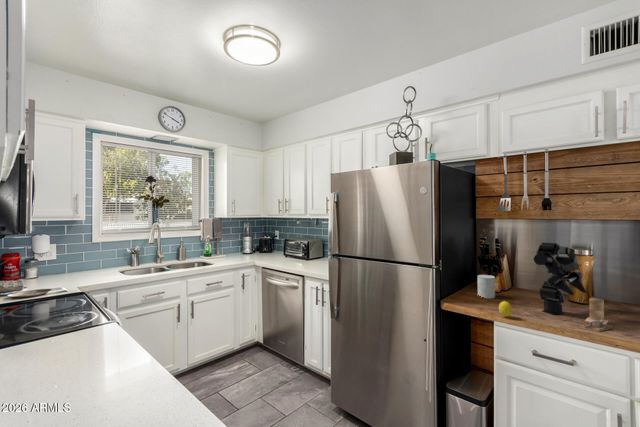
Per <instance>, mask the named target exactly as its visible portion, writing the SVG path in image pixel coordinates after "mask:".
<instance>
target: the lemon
mask: <svg viewBox="0 0 640 427" xmlns="http://www.w3.org/2000/svg"><path fill="white" fill-rule="evenodd" d="M498 311H499V314H501V315H502V316H503V317H504V318H507V317H509V316H510V315H511V314H512V312H513V308H512V305H511V303H509V302H508V301H506V300H503V301H501V302H500V303H499V304H498Z"/></svg>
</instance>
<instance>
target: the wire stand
mask: <svg viewBox="0 0 640 427" xmlns="http://www.w3.org/2000/svg"><path fill="white" fill-rule="evenodd" d="M584 328H585V329H589V330H592V331H596V332H603V331H606V330H610V329H612V326H611V325H609V324H603V322H602V318H600V317H599V321H589V322H588V324H585V325H584Z"/></svg>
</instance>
